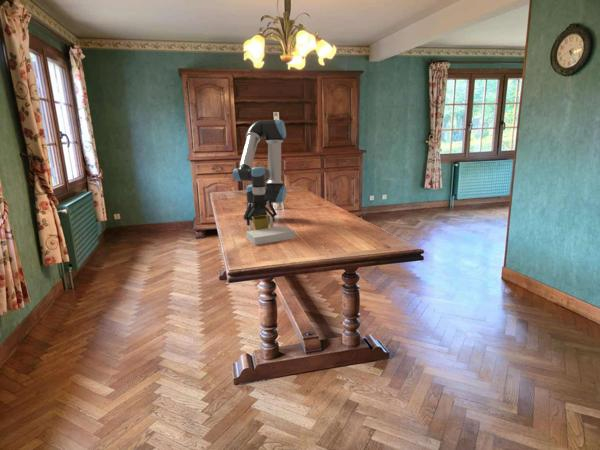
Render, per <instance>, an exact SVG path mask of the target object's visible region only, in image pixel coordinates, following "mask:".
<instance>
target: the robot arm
mask: <svg viewBox="0 0 600 450" xmlns="http://www.w3.org/2000/svg"><path fill="white" fill-rule="evenodd" d="M285 125H286V124H285V121H283V120H282V119H261V120H260V119H259V120H257V121H255V122H253V124H251V125H250V126H249V128H248V129H247V131H246V133H245V142H244V145H243V146H244V147H243V150H242V153H241V157H240V158H241V159H240V161H239V165H238V167H237V168H234V169H233V170H232V178H233V180H234V181H235V182H251V184H248V185H247V186H246V188H245V189H246V191H245V192H246V193H245V194H246V211H245V212H244V214H243V215H244V216H243V218H242V219H243V220H246V225H247V226H248V231H253V230H252V221H253V219H252V216H262V215H267V216H268V214H269V215H270V216H269V228H272V227H274V222H275V217H276V216H277V215H278V214H277V212H276V209H275V208H274V206H273V204H275V203H276V204H280V203H284V201H285V199H286V197H287V185H285V184H284V182H283V180H282V143H283V142H284V139H286V137H287V129H286V126H285ZM261 139H265V142H266V143H267V167H264V166H253V162H254V159H255V155H256V150H257V147H258V143H259V142H260V141H261ZM252 166H253V167H252ZM267 205H268V207H267ZM268 208H269V209H268Z"/></svg>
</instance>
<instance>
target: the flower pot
mask: <svg viewBox="0 0 600 450" xmlns="http://www.w3.org/2000/svg"><path fill="white" fill-rule="evenodd" d="M252 219H253V220H252V224H253V227H254V230H259V229H266V228H269V227H270V217H269V216H268V214H267V215H262V216H252Z"/></svg>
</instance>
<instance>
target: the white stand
mask: <svg viewBox="0 0 600 450" xmlns="http://www.w3.org/2000/svg"><path fill="white" fill-rule="evenodd" d="M245 237H246V239H247V240H248V241H249V242H251V243H252V244H253V245H254V246H257V245H258V246H259V245H263V244H270V243H275V242H280V241H286V240H292V239H296V231H295V230H294V229H292V228H290V227H289V226H287V225H280V226H273V227H272V228H271V227H268V228H266V229H259V230H256V229H254V230H252V231H249V230H248V231H245Z"/></svg>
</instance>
